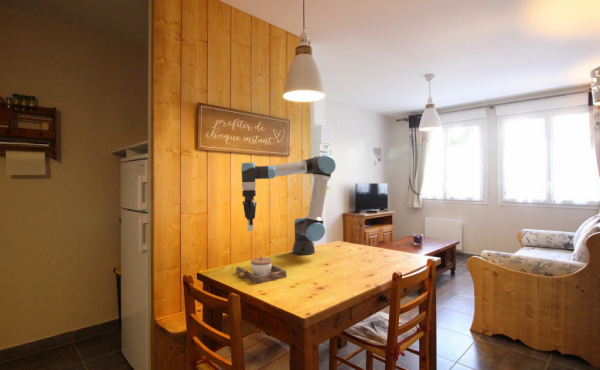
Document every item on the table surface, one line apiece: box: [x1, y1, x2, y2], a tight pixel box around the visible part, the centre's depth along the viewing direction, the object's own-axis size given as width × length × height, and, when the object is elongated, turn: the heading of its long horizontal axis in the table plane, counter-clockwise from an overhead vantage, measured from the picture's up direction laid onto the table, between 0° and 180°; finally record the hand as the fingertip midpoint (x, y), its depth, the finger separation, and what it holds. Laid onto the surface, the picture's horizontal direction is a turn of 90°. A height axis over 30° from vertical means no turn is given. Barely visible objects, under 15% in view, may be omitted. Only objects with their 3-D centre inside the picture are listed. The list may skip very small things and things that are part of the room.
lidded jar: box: [250, 256, 273, 276], centre depth 152 cm, size 11×11×9 cm
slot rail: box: [235, 264, 287, 285], centre depth 153 cm, size 22×22×3 cm
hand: (250, 230), depth 171 cm, fingers closed
